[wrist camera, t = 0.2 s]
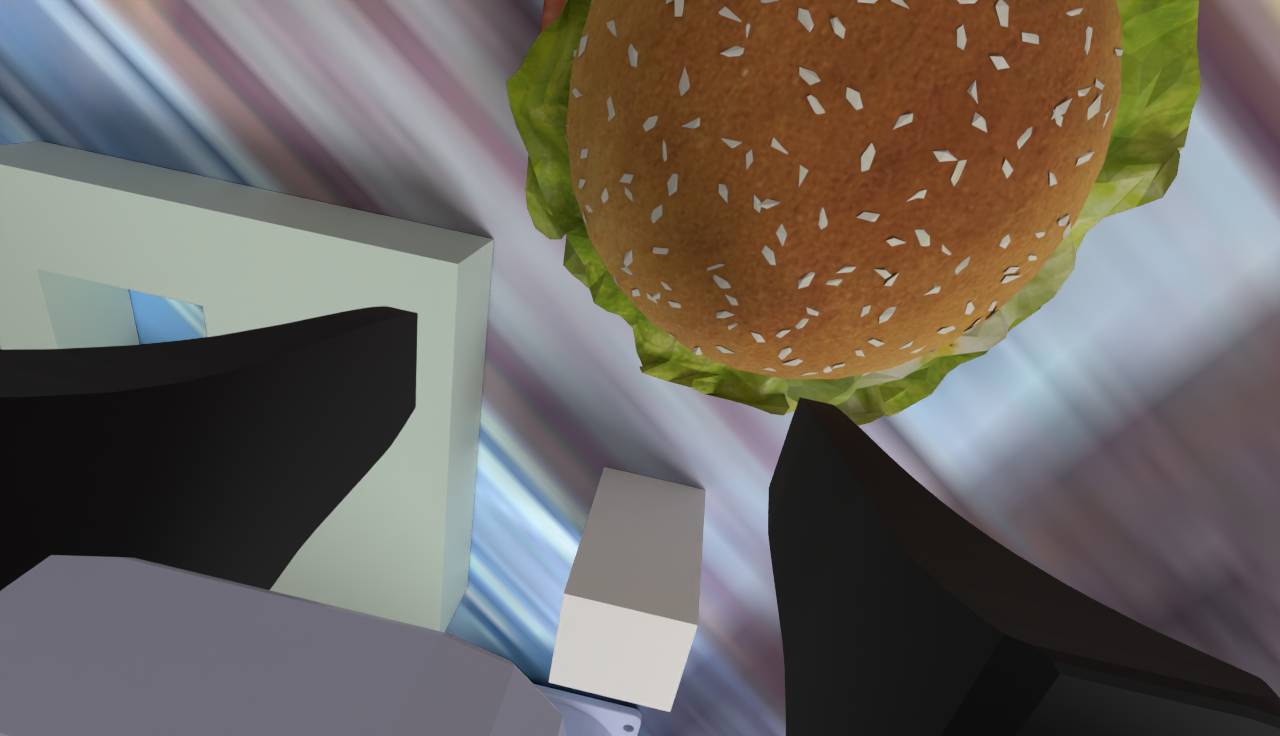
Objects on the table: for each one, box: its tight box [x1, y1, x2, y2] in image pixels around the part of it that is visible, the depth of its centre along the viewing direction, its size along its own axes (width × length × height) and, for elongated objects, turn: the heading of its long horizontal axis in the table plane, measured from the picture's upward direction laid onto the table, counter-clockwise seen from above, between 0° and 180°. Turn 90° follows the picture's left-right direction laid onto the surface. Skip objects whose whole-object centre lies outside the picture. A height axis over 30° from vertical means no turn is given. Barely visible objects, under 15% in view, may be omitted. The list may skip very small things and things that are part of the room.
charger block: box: [549, 467, 705, 712], centre depth 22 cm, size 4×4×6 cm
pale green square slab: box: [0, 141, 494, 632], centre depth 23 cm, size 16×16×3 cm
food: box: [506, 0, 1201, 426], centre depth 14 cm, size 14×14×8 cm
